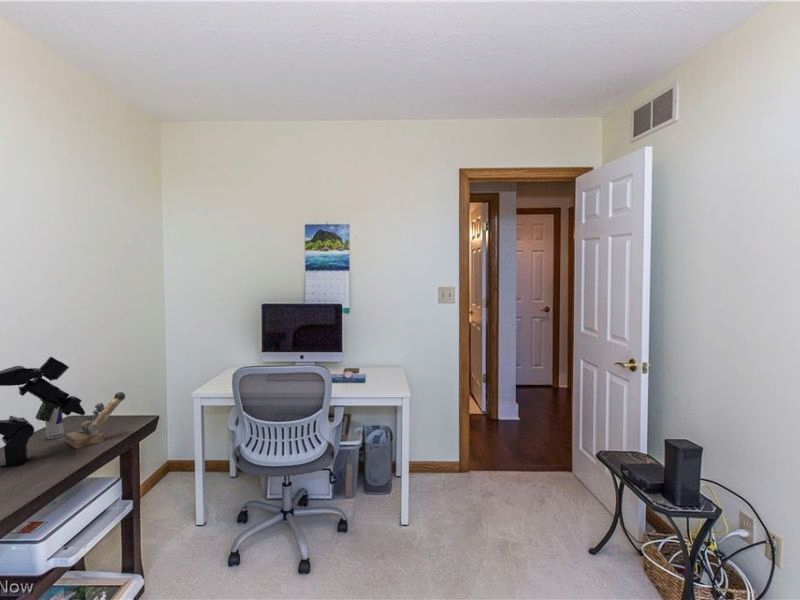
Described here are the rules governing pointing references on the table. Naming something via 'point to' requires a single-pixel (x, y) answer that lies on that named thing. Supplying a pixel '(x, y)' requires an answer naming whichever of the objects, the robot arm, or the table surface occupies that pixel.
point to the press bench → (85, 436)
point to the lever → (108, 409)
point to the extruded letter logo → (96, 412)
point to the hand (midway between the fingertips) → (84, 414)
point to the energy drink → (55, 425)
